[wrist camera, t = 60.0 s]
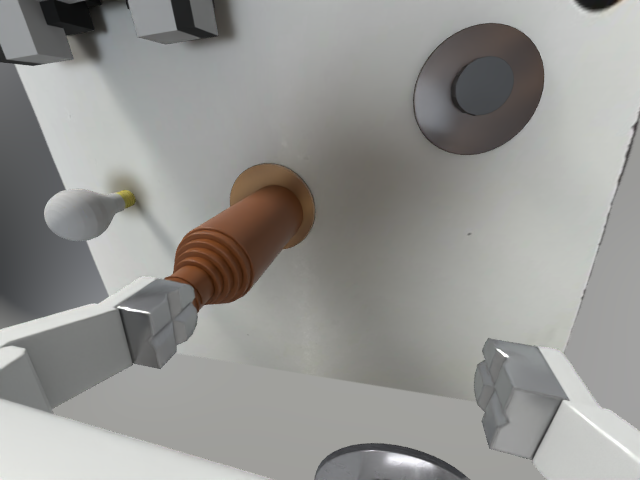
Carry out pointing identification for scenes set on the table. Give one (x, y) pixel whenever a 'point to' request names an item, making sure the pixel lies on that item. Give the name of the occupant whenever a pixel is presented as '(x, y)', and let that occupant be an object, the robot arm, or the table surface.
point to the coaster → (281, 177)
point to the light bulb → (84, 212)
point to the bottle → (237, 245)
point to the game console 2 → (73, 17)
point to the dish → (481, 130)
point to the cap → (482, 86)
